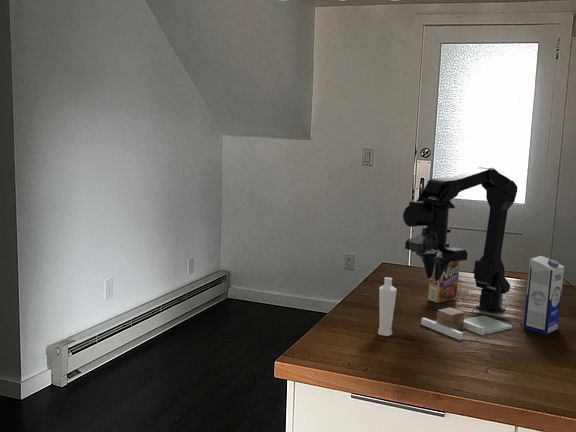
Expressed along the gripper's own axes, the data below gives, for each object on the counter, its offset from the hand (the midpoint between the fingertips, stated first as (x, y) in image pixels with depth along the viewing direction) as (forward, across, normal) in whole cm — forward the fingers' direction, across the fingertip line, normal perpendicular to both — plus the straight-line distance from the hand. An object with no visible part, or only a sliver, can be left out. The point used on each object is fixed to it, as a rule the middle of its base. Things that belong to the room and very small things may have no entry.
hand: (433, 279), depth 182 cm
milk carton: (+12, +20, +23) cm, 33 cm away
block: (+12, +8, 0) cm, 14 cm away
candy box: (+12, -14, +19) cm, 26 cm away
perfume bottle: (+12, +2, -19) cm, 23 cm away
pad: (+12, +10, +11) cm, 19 cm away
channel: (+12, +8, 0) cm, 15 cm away
